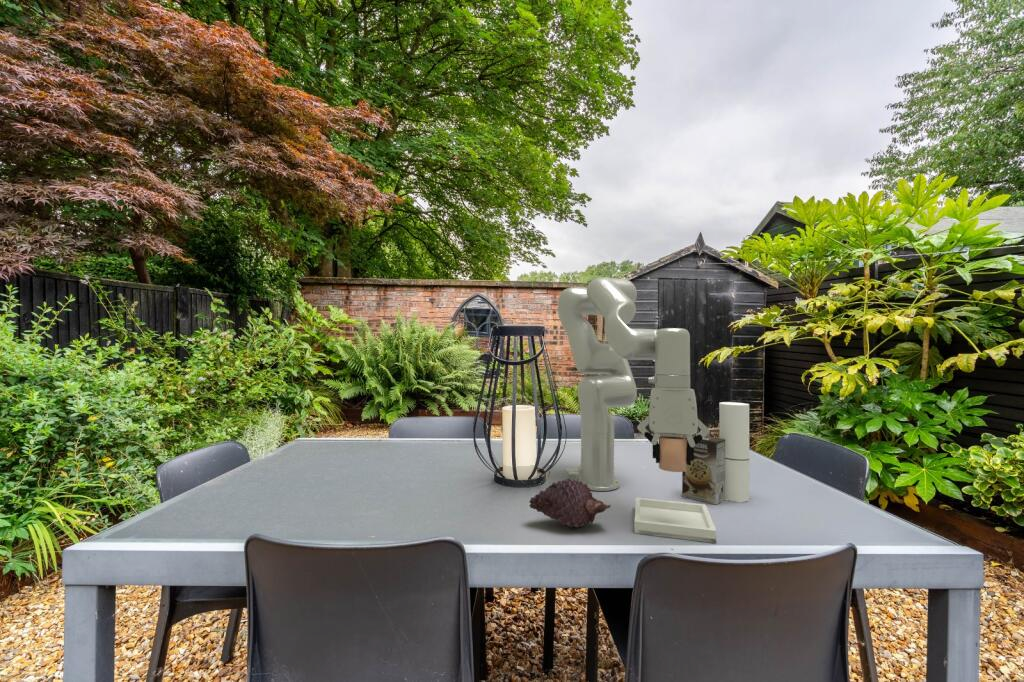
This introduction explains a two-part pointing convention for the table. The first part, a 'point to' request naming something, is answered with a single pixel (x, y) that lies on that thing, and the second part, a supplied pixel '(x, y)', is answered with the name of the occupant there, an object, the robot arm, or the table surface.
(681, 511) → the tray
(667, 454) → the cup
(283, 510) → the table surface
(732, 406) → the cylindrical container
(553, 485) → the pine cone
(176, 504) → the table surface
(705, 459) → the coffee box
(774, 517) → the table surface
